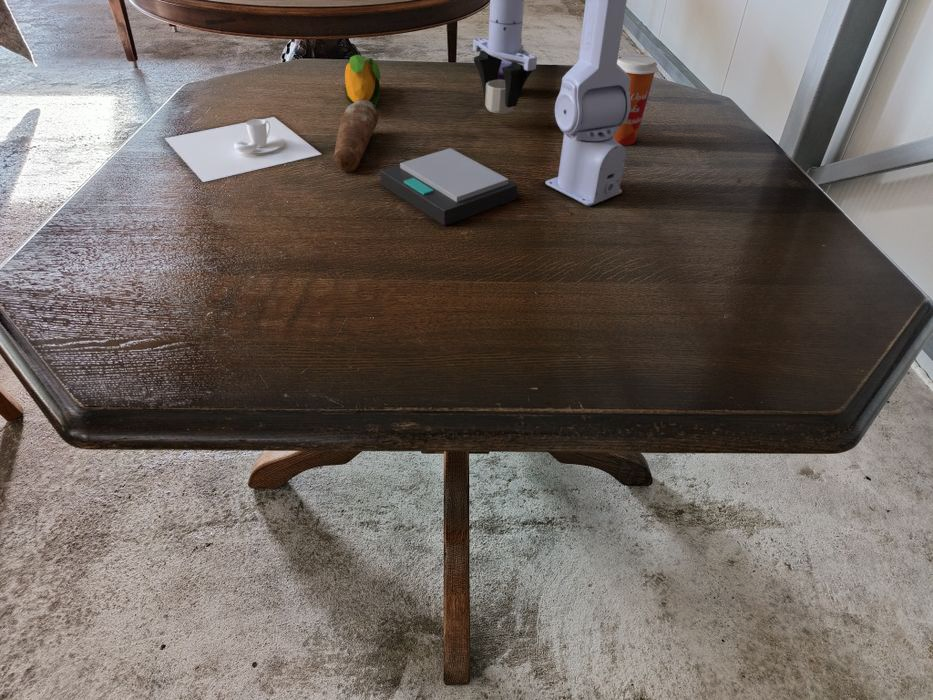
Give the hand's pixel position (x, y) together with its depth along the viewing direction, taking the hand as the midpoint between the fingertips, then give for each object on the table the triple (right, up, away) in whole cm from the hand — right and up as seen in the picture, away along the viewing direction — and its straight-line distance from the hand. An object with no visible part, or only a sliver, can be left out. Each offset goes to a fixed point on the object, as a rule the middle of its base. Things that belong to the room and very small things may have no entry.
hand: (500, 101), depth 115 cm
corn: (-27, +4, +10) cm, 29 cm away
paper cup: (+22, -7, 0) cm, 23 cm away
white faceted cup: (0, -1, +1) cm, 1 cm away
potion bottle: (+2, +9, +17) cm, 20 cm away
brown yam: (-25, -12, -8) cm, 29 cm away
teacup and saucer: (-45, -11, -8) cm, 47 cm away
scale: (-9, -21, -19) cm, 30 cm away
